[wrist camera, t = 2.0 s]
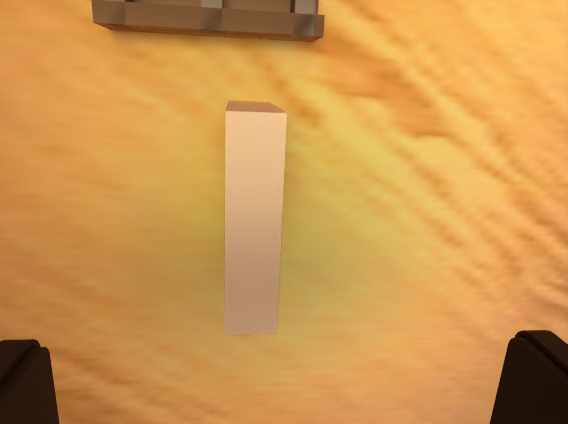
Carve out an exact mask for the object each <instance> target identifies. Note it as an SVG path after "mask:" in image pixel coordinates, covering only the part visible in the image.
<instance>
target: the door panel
mask: <svg viewBox="0 0 568 424" xmlns="http://www.w3.org/2000/svg"><path fill="white" fill-rule="evenodd" d="M286 122H287V113H286V112H284V111H282V110H281V109H279V108H277V107H276V106H274V105H273V104H271V103H269V102H248V101H228V104H227V108H226V137H225V335H252V334H277V320H278V298H279V276H280V254H281V232H282V210H283V188H284V166H285V144H286Z"/></svg>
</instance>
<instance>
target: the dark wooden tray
mask: <svg viewBox="0 0 568 424" xmlns="http://www.w3.org/2000/svg"><path fill="white" fill-rule="evenodd" d="M92 11H93V23H96V24H98V25H101V26H103V27H105V28H108V29H110V30H124V31H141V32H158V33H175V34H192V35H209V36H225V37H242V38H259V39H276V40H293V41H310V42H313V41H315V40H317V39H319V38H321V37H323V30H324V15H317V14H318V0H92Z"/></svg>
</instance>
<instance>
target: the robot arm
mask: <svg viewBox="0 0 568 424" xmlns="http://www.w3.org/2000/svg"><path fill="white" fill-rule="evenodd" d="M0 424H59V418H58V410H57V403H56V396H55V389H54V381H53V374H52V367H51V360H50V353H49V350H48V348H46V347H40V344H39V342H38V341H37V340H35V339H31V340H3V341H0ZM490 424H568V344H567V343H565V342H564V341H563V340H562V339H560V338H559V337H558V336H557V335H555V334H554V333H552V332H551V331H547V330H528V331H520V332H518V333H517V334H516V335H515V338H512V339H511V340H510V341H509V344H508V347H507V352H506V356H505V360H504V365H503V369H502V373H501V377H500V382H499V386H498V390H497V395H496V399H495V403H494V407H493V412H492V416H491V420H490Z"/></svg>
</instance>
